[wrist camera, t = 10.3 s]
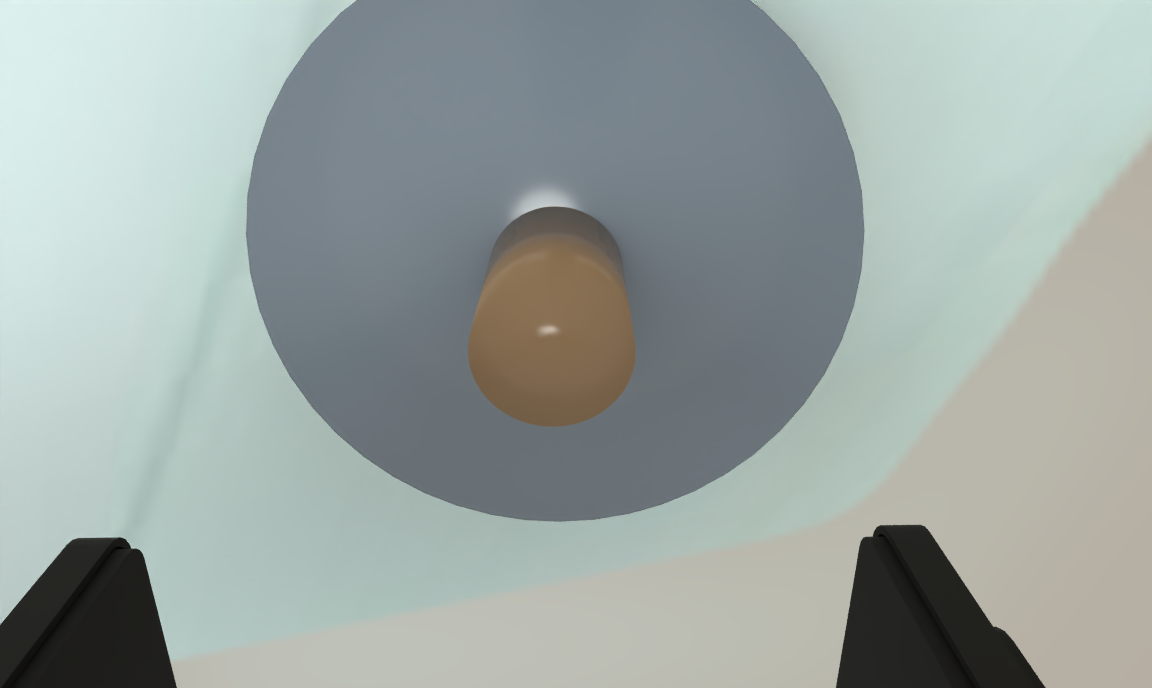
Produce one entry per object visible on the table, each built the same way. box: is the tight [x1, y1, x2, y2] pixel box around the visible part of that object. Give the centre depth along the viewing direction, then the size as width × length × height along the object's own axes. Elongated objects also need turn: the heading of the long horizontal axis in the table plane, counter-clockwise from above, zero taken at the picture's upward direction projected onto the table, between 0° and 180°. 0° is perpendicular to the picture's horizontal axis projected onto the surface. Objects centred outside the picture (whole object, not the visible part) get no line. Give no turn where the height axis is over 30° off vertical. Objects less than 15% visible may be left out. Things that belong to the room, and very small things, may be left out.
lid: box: [246, 0, 864, 522], centre depth 21 cm, size 16×16×6 cm
